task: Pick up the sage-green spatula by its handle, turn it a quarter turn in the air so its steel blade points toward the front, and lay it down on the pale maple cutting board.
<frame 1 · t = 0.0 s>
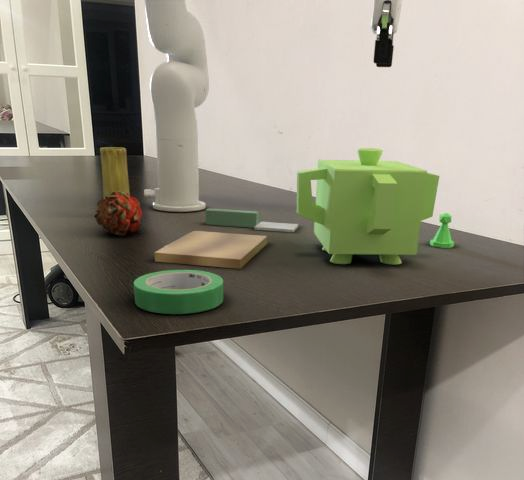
hand: (382, 65, 114), 31 cm above the table, tool pointing down, fingers open, 9 cm apart
cutting board: (214, 252, 95), on the table
spatula: (276, 228, 116), on the table
dragon fruit: (120, 234, 108), on the table
green handled cubic container: (360, 256, 96), on the table
game piece: (441, 246, 104), on the table
tape roll: (179, 302, 71), on the table
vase: (118, 218, 123), on the table
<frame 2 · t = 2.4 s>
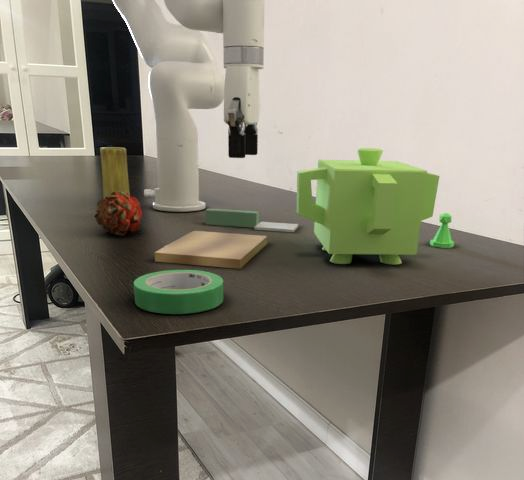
hand: (243, 156, 112), 14 cm above the table, tool pointing down, fingers open, 9 cm apart
nothing on the table moved.
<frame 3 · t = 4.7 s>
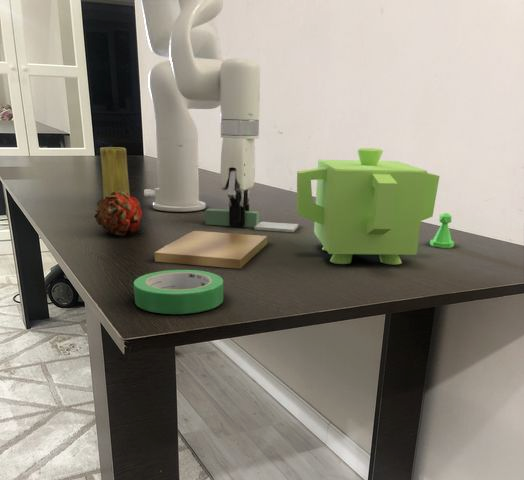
hand: (239, 223, 117), 0 cm above the table, tool pointing down, fingers closed on spatula, 2 cm apart
spatula: (276, 228, 116), on the table, touching gripper
everything else where it was.
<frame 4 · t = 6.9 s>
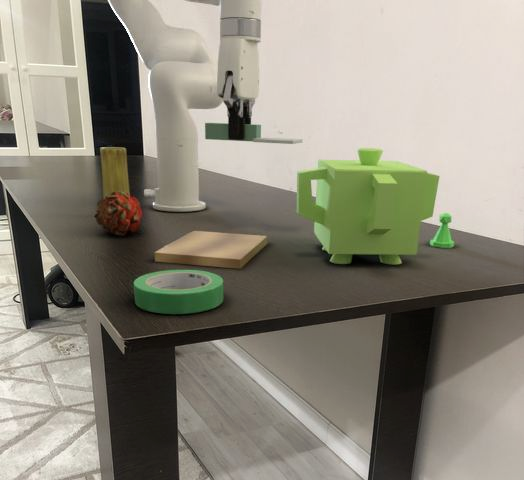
hand: (239, 138, 111), 17 cm above the table, tool pointing down, fingers closed on spatula, 2 cm apart
spatula: (277, 142, 108), point 17 cm above the table, touching gripper
everything else where it was.
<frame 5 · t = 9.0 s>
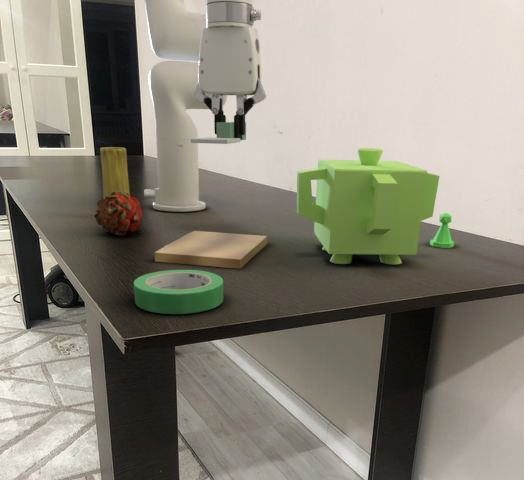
hand: (229, 138, 99), 18 cm above the table, tool pointing down, fingers closed on spatula, 2 cm apart
spatula: (216, 142, 92), point 17 cm above the table, touching gripper
everything else where it was.
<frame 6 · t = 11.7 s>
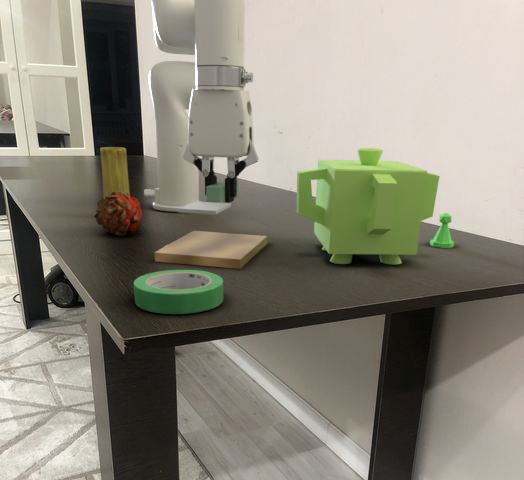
hand: (220, 200, 95), 8 cm above the table, tool pointing down, fingers closed on spatula, 2 cm apart
spatula: (205, 209, 88), point 8 cm above the table, touching gripper
everything else where it was.
when the fingers open (2 cm above the table, at t = 13.4 s): spatula stays where it is, resting on cutting board.
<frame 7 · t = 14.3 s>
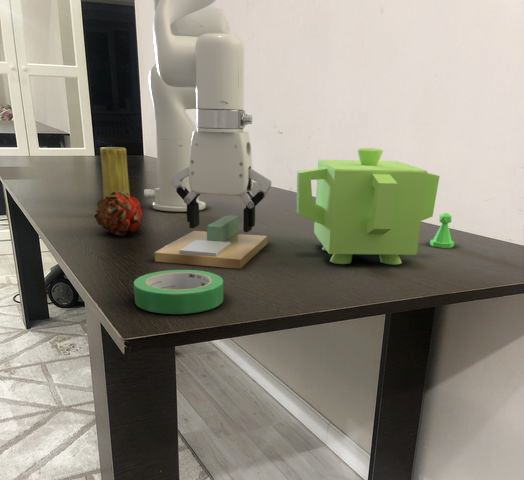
hand: (220, 228, 97), 3 cm above the table, tool pointing down, fingers open, 9 cm apart
spatula: (205, 249, 90), point 1 cm above the table, touching cutting board
everything else where it was.
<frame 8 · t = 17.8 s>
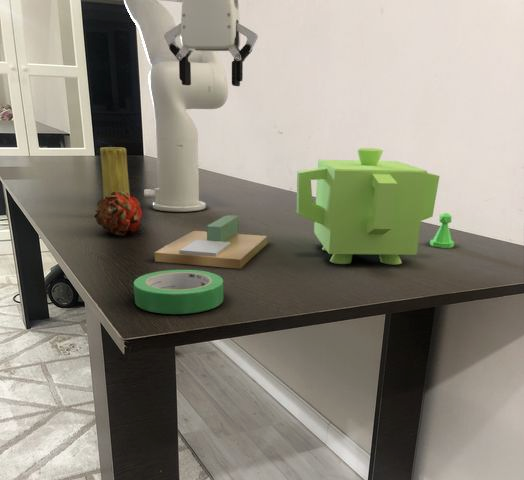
hand: (210, 85, 104), 26 cm above the table, tool pointing down, fingers open, 9 cm apart
nothing on the table moved.
at the end: spatula inside the target area on the cutting board (0.2 cm from its centre), point 1.5 cm above the cutting board's base; spatula tilted 0°; the gripper is holding nothing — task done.
